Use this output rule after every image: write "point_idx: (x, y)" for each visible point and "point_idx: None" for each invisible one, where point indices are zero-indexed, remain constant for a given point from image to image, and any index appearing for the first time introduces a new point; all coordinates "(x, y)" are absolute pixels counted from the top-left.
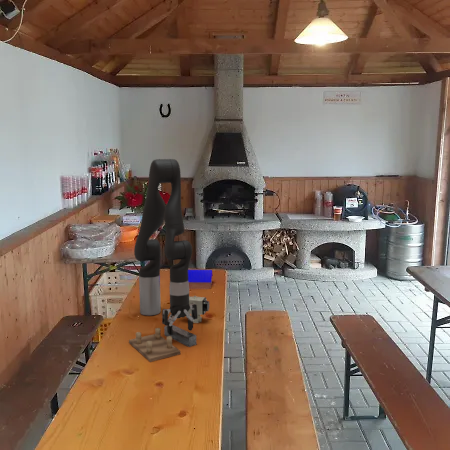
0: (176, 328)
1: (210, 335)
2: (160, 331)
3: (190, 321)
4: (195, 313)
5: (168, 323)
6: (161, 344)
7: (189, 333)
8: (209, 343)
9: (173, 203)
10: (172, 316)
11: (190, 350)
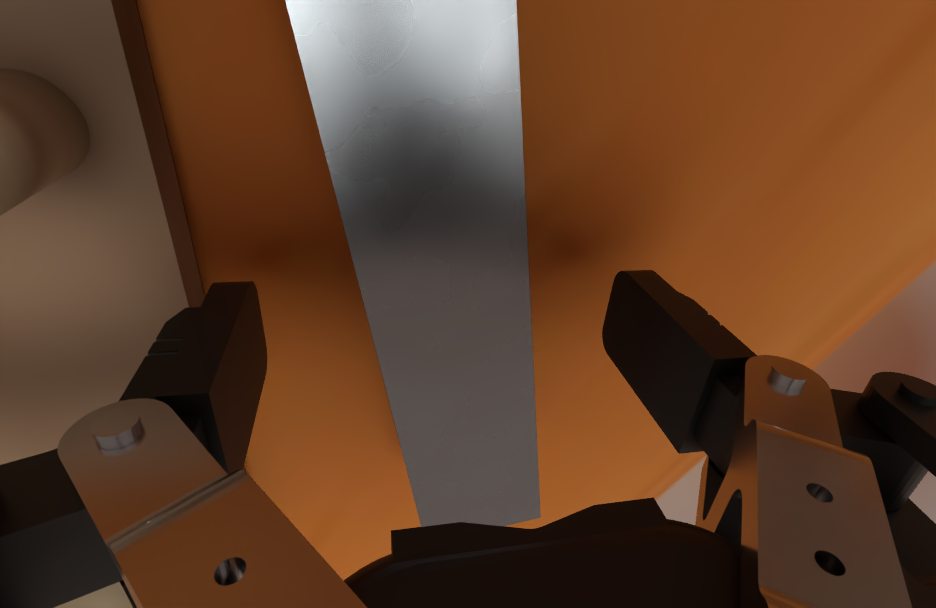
0: (454, 175)
1: (777, 302)
2: (4, 201)
3: (697, 437)
4: (926, 599)
5: (95, 565)
6: (58, 370)
7: (510, 448)
8: (619, 450)
9: None
10: (274, 580)
11: (385, 505)
